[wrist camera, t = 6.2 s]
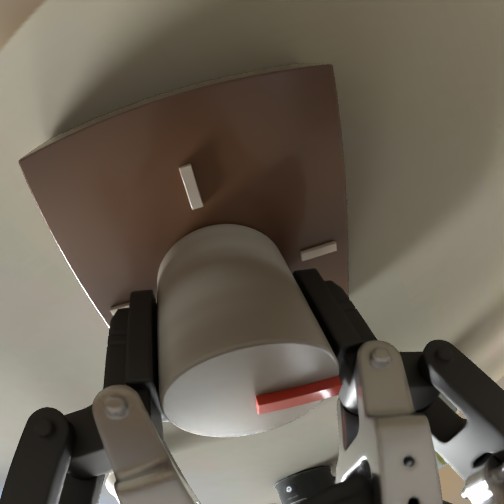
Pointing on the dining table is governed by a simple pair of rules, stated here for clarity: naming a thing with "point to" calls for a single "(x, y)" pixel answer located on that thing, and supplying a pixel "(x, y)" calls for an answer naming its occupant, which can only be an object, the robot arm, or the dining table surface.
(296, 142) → the dimmer panel
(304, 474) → the milk frother
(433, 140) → the dining table surface
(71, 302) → the dining table surface
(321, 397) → the dimmer knob
